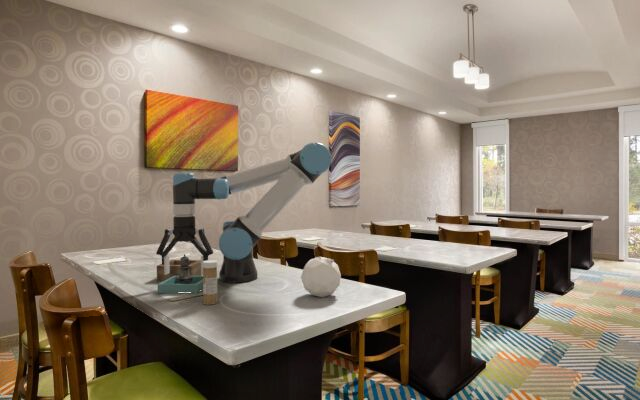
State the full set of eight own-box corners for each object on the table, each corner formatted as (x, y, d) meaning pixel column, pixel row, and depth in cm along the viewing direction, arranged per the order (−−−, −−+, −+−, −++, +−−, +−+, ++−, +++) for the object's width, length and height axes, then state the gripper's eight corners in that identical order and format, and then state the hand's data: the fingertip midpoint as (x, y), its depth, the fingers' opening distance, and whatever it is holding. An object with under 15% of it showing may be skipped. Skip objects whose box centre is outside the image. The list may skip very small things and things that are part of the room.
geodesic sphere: (356, 276, 140) (333, 244, 142) (343, 285, 127) (319, 249, 130) (325, 298, 144) (304, 266, 147) (310, 309, 131) (287, 274, 134)
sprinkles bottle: (204, 301, 131) (203, 259, 130) (218, 301, 131) (218, 259, 131) (201, 305, 126) (201, 262, 126) (216, 305, 126) (216, 262, 126)
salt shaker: (188, 289, 144) (187, 255, 143) (173, 288, 145) (172, 255, 145) (196, 285, 150) (196, 253, 149) (181, 284, 151) (181, 252, 150)
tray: (210, 284, 154) (210, 275, 154) (197, 293, 140) (196, 284, 140) (174, 283, 155) (174, 275, 155) (157, 293, 141) (157, 284, 141)
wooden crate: (204, 273, 173) (204, 259, 173) (191, 281, 159) (191, 266, 159) (172, 273, 174) (172, 259, 173) (156, 281, 160) (156, 265, 160)
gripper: (221, 215, 150) (222, 272, 150) (155, 215, 151) (156, 271, 152) (214, 216, 142) (215, 276, 143) (145, 216, 144) (146, 275, 145)
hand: (185, 274), depth 147 cm, fingers open, 13 cm apart
